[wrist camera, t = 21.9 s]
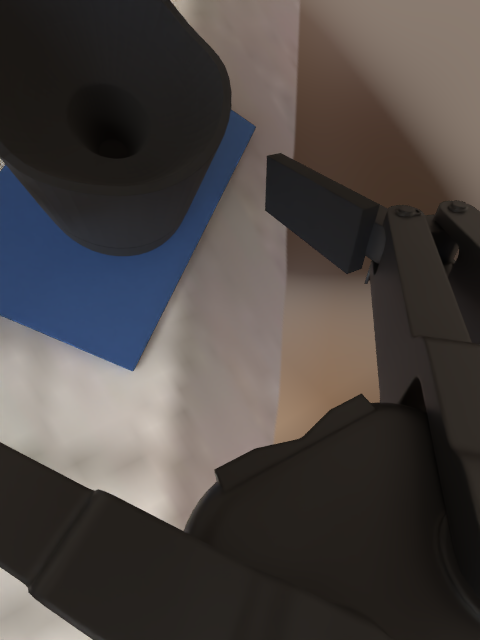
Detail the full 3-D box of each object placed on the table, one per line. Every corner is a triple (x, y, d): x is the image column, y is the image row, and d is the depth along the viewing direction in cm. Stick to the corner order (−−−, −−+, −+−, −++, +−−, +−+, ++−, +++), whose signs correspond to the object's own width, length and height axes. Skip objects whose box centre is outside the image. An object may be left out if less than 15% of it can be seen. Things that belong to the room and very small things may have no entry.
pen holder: (183, 129, 22) (218, -29, 13) (198, 261, 22) (244, 198, 13) (29, 115, 20) (-72, -101, 10) (42, 267, 19) (-50, 191, 10)
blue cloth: (-70, 284, 18) (-77, 283, 17) (103, 28, 22) (102, 20, 21) (133, 370, 21) (133, 371, 20) (253, 131, 25) (256, 126, 24)
